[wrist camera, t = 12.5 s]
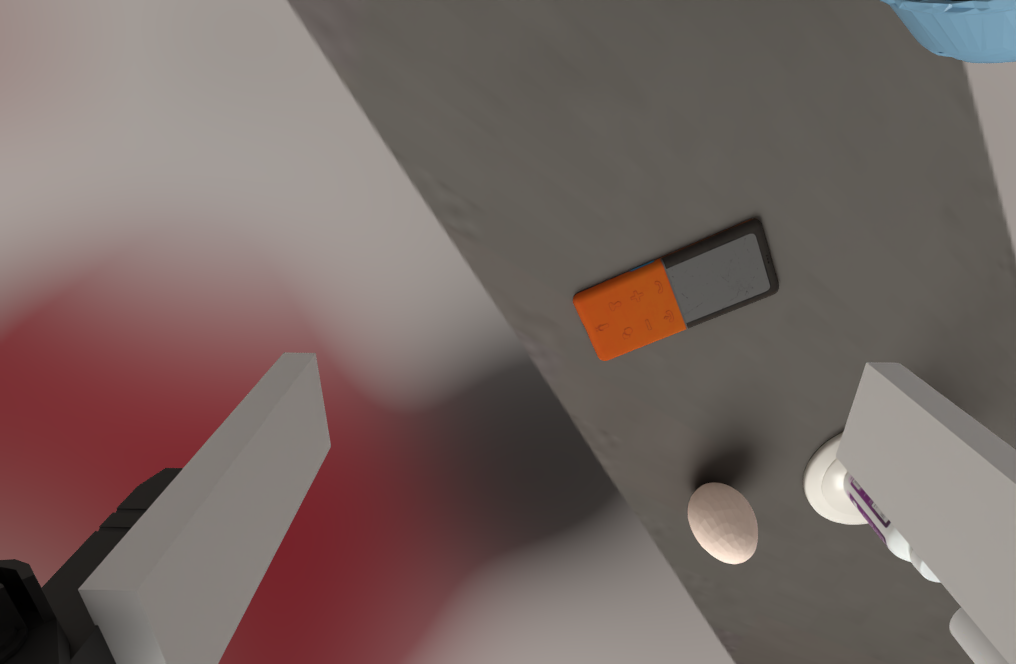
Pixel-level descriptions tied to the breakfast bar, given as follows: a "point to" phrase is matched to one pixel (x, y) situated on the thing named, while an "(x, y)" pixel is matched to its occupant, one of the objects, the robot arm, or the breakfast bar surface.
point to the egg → (723, 522)
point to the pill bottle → (884, 527)
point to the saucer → (829, 485)
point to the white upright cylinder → (974, 640)
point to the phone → (678, 290)
